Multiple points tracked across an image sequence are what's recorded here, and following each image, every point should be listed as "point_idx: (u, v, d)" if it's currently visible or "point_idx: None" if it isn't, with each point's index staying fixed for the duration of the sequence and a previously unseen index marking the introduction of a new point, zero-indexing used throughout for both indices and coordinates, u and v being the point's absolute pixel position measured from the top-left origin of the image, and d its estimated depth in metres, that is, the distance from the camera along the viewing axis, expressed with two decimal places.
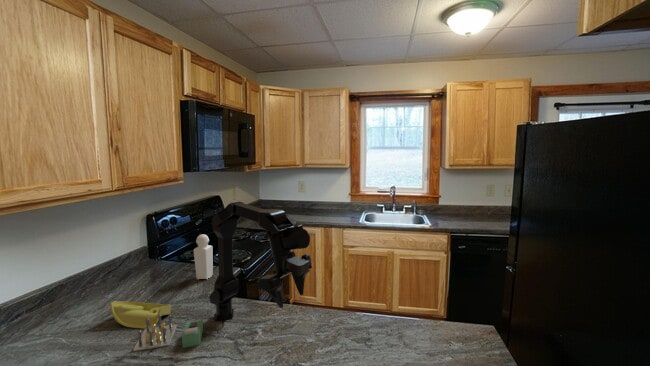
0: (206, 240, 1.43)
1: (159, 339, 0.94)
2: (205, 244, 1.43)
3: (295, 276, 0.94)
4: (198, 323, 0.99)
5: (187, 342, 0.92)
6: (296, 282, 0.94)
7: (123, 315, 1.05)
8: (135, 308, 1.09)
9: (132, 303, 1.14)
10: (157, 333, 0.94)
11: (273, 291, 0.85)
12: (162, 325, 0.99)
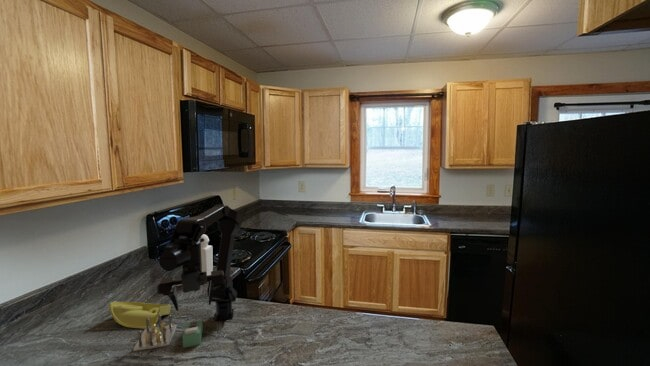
0: (206, 240, 1.43)
1: (159, 339, 0.94)
2: (205, 244, 1.43)
3: None
4: (198, 323, 0.99)
5: (187, 342, 0.92)
6: (209, 290, 0.95)
7: (122, 315, 1.05)
8: (134, 308, 1.09)
9: (131, 303, 1.14)
10: (157, 333, 0.94)
11: None
12: (162, 325, 0.99)
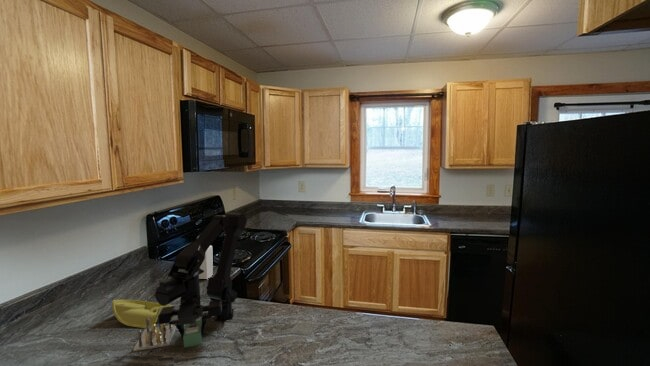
0: None
1: (159, 339, 0.94)
2: None
3: None
4: (198, 323, 0.99)
5: (188, 342, 0.93)
6: None
7: (124, 313, 1.06)
8: (136, 307, 1.10)
9: (134, 301, 1.15)
10: (157, 333, 0.94)
11: None
12: (162, 325, 0.99)
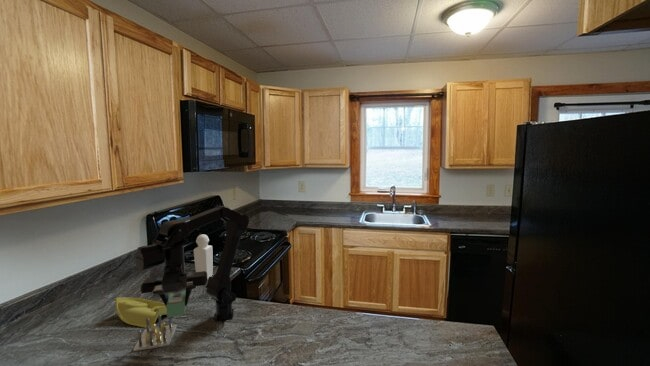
0: (206, 240, 1.43)
1: (159, 339, 0.94)
2: (205, 244, 1.43)
3: None
4: (182, 294, 0.98)
5: (171, 311, 0.91)
6: None
7: (126, 312, 1.08)
8: (138, 305, 1.11)
9: (138, 300, 1.17)
10: (157, 333, 0.94)
11: None
12: (162, 325, 0.99)
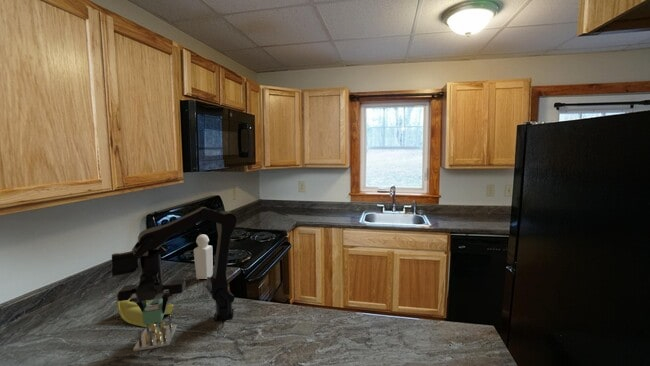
0: (206, 240, 1.43)
1: (159, 339, 0.94)
2: (205, 244, 1.43)
3: None
4: (161, 301, 0.99)
5: (148, 319, 0.93)
6: None
7: (127, 311, 1.08)
8: None
9: None
10: (157, 333, 0.94)
11: None
12: (162, 325, 0.99)
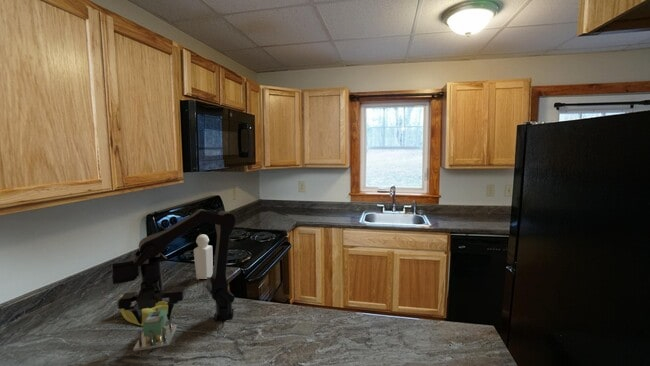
0: (206, 240, 1.43)
1: (159, 339, 0.94)
2: (205, 244, 1.43)
3: None
4: (161, 312, 0.99)
5: (148, 331, 0.93)
6: None
7: (128, 310, 1.09)
8: None
9: None
10: None
11: None
12: None
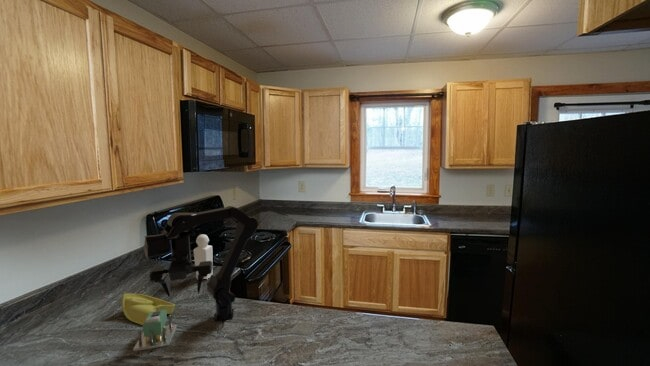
0: (206, 240, 1.42)
1: (159, 339, 0.94)
2: (205, 244, 1.43)
3: None
4: (161, 312, 0.99)
5: (148, 331, 0.93)
6: None
7: (130, 308, 1.10)
8: (143, 303, 1.13)
9: (145, 297, 1.19)
10: None
11: None
12: None
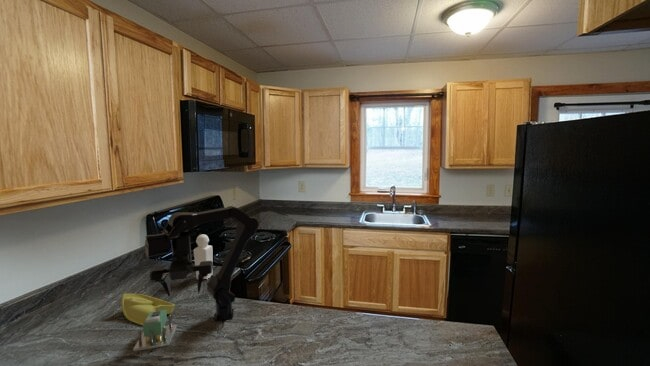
0: (206, 240, 1.43)
1: (159, 339, 0.94)
2: (205, 244, 1.43)
3: None
4: (161, 312, 0.99)
5: (148, 331, 0.93)
6: None
7: (130, 308, 1.10)
8: (142, 303, 1.13)
9: (145, 297, 1.19)
10: None
11: None
12: None
